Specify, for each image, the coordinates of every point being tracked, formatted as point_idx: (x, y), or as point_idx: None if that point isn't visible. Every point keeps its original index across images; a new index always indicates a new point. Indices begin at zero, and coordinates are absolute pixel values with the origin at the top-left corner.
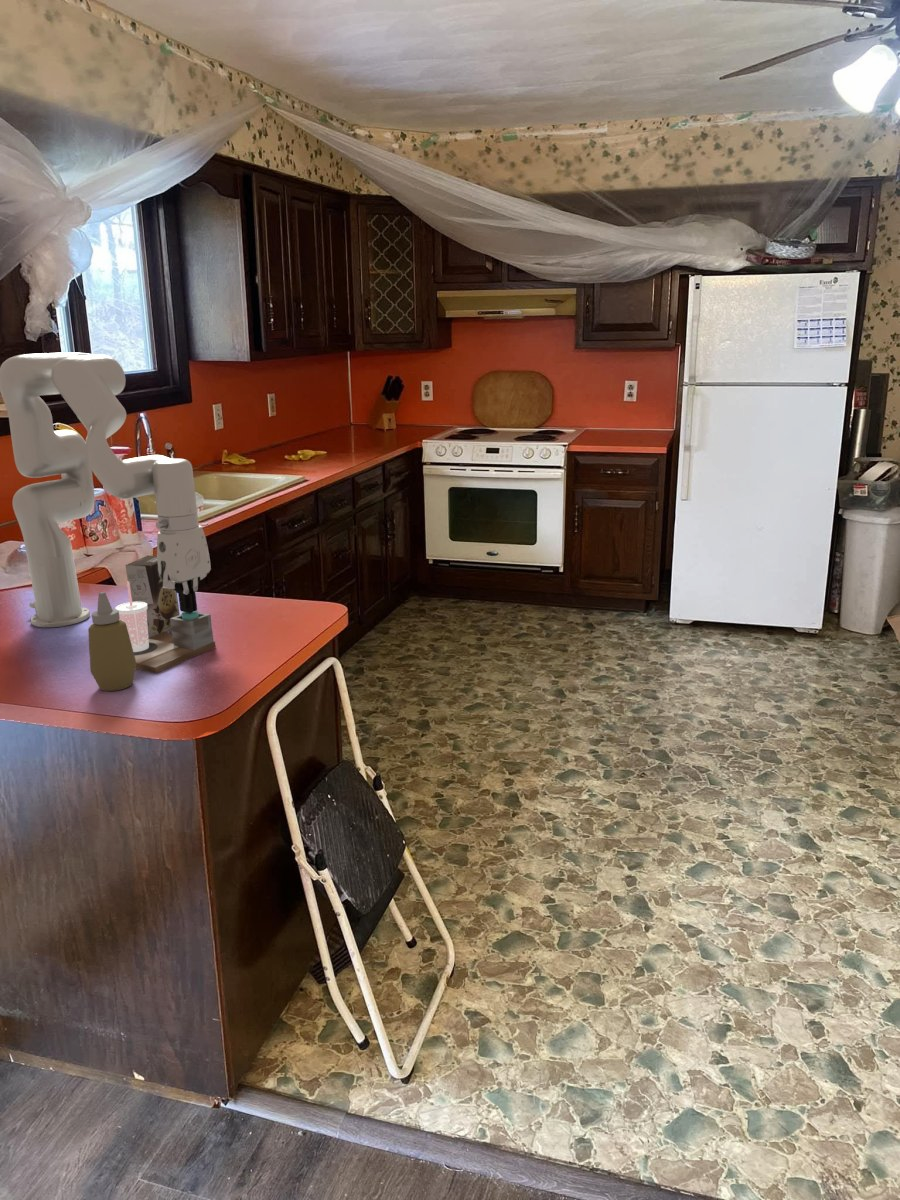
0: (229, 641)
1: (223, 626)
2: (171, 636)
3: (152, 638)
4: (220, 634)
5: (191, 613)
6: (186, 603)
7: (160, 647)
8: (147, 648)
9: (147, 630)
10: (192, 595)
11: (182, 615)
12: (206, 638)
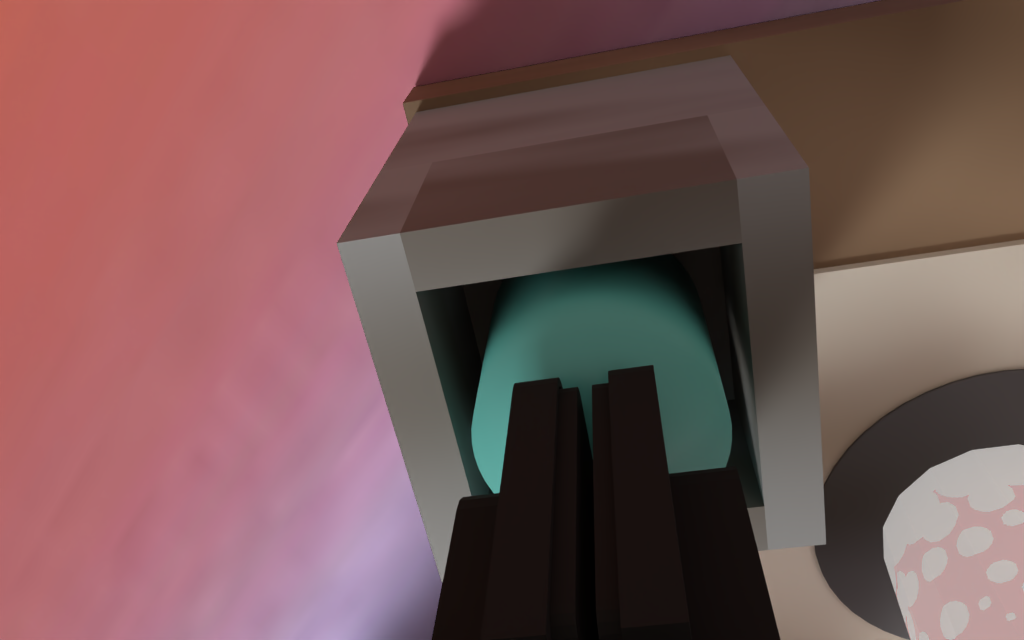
0: (219, 121)
1: (77, 488)
2: None
3: None
4: (190, 354)
5: None
6: (711, 524)
7: (862, 396)
8: (960, 455)
9: (999, 590)
10: (578, 593)
11: (724, 453)
12: (510, 114)
